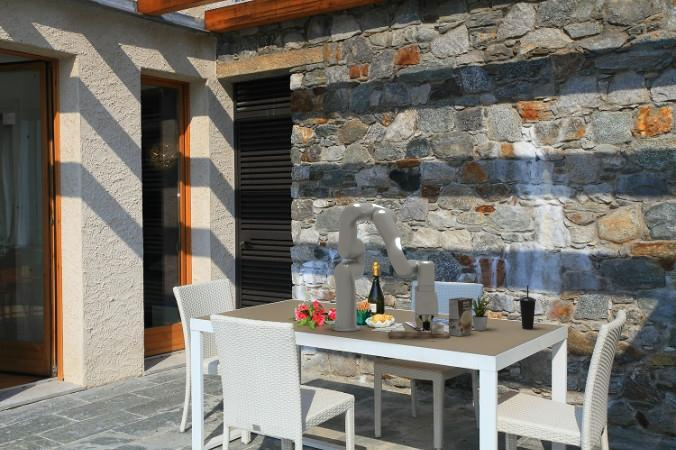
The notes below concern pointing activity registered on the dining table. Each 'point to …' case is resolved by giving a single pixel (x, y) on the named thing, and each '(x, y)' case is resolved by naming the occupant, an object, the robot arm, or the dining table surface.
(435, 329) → the bead
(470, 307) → the coffee box
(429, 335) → the board
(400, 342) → the dining table surface
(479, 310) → the house plant
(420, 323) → the food model
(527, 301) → the drinking cup
